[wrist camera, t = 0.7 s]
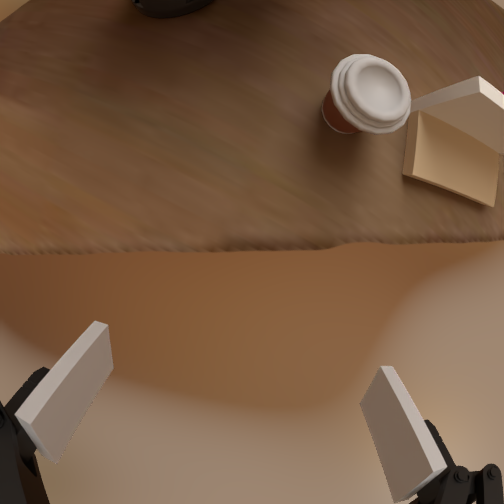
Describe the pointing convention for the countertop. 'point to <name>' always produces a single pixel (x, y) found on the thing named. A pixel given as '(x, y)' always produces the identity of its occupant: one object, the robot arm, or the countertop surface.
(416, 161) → the board
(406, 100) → the coffee cup
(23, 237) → the countertop surface
